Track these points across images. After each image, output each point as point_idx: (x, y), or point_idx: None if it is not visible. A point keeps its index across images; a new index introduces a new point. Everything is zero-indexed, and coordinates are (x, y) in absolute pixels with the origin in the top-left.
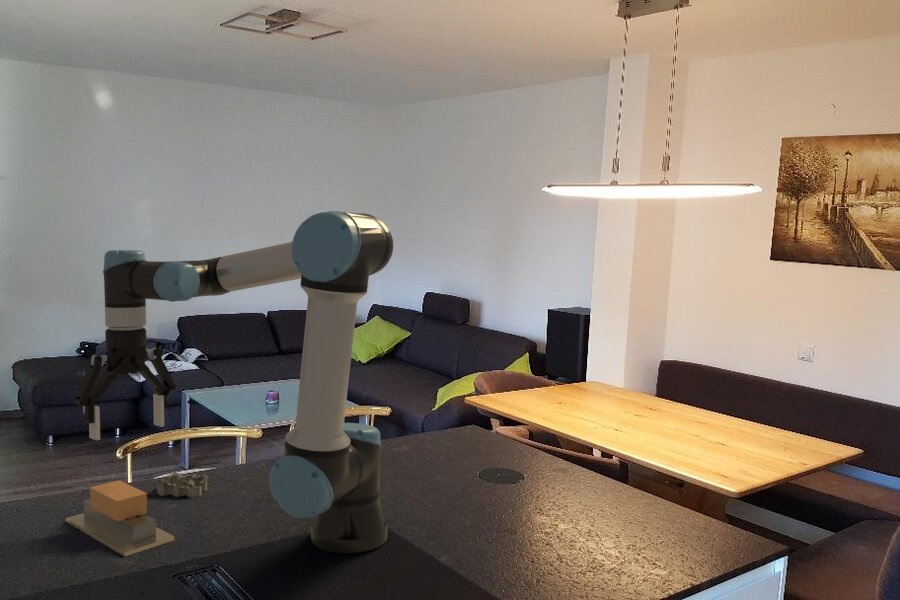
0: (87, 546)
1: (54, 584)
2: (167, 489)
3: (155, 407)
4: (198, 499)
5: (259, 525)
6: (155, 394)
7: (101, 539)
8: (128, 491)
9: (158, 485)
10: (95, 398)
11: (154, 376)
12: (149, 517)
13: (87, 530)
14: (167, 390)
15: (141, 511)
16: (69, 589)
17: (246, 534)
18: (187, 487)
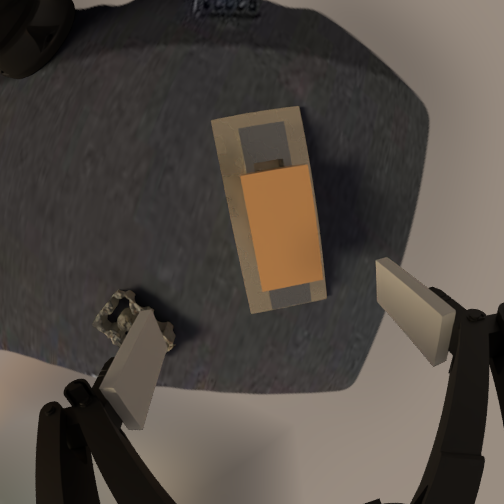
0: (331, 180)
1: (391, 90)
2: (159, 327)
3: (148, 379)
4: (123, 275)
5: (84, 114)
6: (133, 420)
7: (312, 181)
8: (269, 210)
9: (170, 340)
10: (478, 335)
11: (111, 481)
12: (243, 148)
13: (319, 229)
14: (76, 404)
15: (251, 172)
16: (379, 65)
17: (113, 89)
18: (131, 302)
